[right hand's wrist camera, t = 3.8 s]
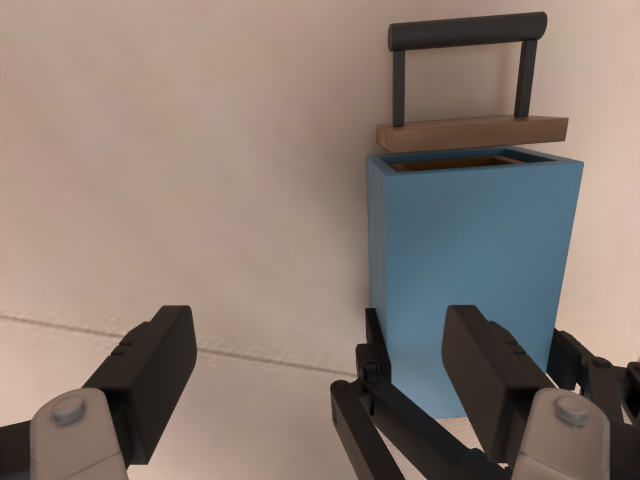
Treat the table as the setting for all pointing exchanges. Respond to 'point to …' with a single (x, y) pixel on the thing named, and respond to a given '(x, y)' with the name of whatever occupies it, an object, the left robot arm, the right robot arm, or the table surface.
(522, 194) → the cabinet
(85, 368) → the table surface
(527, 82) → the drawer
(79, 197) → the table surface
